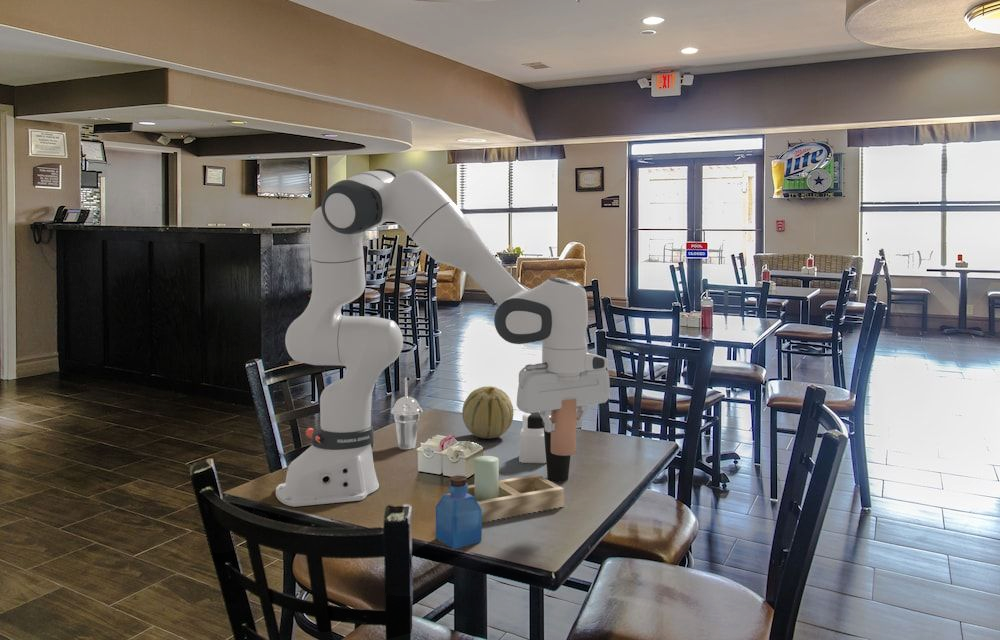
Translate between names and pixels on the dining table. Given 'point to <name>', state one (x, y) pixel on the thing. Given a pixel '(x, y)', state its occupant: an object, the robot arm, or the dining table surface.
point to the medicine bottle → (532, 439)
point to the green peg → (486, 478)
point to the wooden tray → (521, 497)
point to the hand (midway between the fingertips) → (563, 429)
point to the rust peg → (564, 429)
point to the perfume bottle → (458, 516)
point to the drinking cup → (555, 461)
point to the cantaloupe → (487, 412)
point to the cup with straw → (406, 419)
